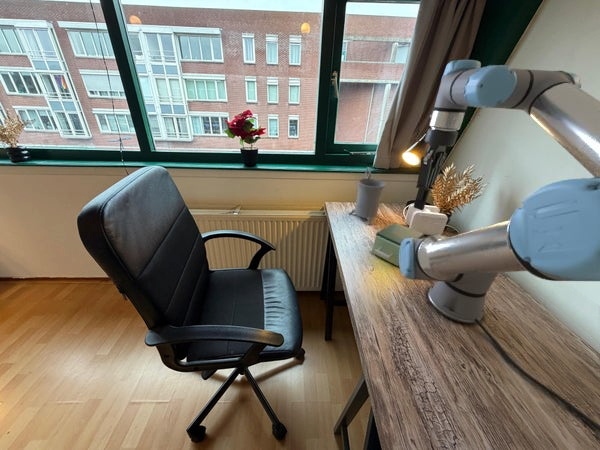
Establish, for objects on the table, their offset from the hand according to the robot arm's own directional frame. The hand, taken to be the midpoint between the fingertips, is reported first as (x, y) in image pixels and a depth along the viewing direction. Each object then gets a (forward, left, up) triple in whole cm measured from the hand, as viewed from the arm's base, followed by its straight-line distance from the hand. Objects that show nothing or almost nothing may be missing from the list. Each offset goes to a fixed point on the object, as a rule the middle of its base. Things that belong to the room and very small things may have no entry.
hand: (418, 208), depth 78 cm
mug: (+47, -1, -27) cm, 54 cm away
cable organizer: (+33, -26, -27) cm, 50 cm away
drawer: (+11, -1, -26) cm, 28 cm away
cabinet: (+13, -4, -26) cm, 30 cm away
